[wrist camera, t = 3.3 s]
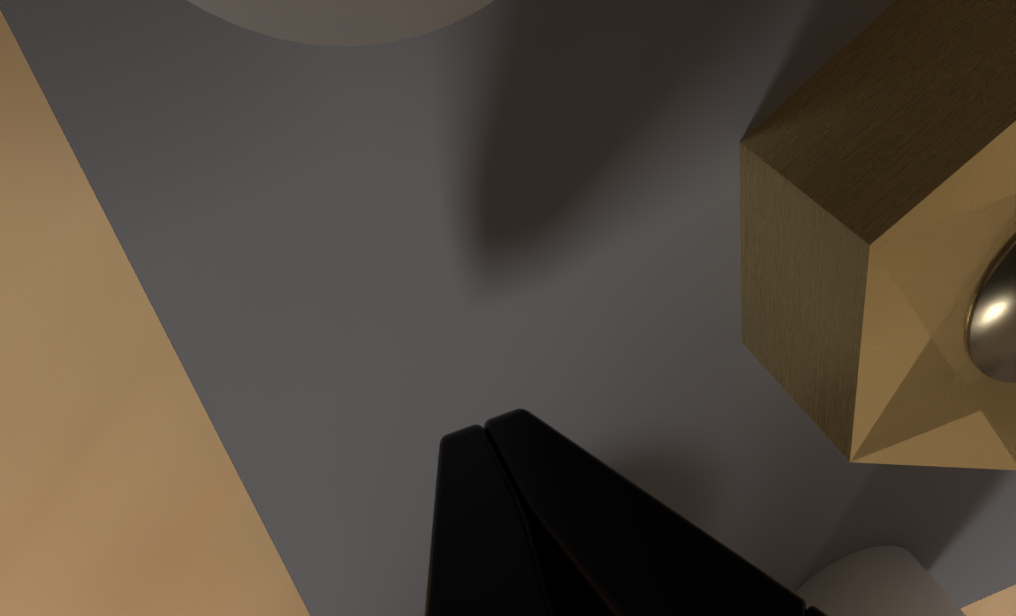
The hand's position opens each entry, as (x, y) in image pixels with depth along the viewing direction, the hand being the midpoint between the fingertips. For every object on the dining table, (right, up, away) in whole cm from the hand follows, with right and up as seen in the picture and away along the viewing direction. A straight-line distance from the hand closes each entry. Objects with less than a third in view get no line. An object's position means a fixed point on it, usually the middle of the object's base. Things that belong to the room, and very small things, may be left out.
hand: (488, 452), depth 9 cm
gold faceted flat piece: (+5, +3, +2) cm, 6 cm away
